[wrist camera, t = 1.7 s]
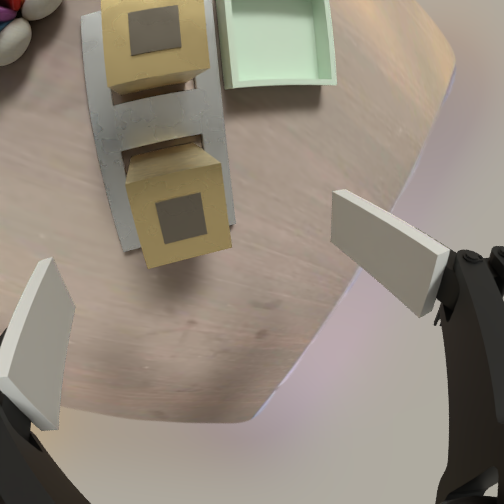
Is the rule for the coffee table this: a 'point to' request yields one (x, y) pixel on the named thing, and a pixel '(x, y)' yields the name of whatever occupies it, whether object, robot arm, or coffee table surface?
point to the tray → (276, 43)
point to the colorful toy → (20, 25)
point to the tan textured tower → (153, 43)
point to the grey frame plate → (150, 122)
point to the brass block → (178, 204)
